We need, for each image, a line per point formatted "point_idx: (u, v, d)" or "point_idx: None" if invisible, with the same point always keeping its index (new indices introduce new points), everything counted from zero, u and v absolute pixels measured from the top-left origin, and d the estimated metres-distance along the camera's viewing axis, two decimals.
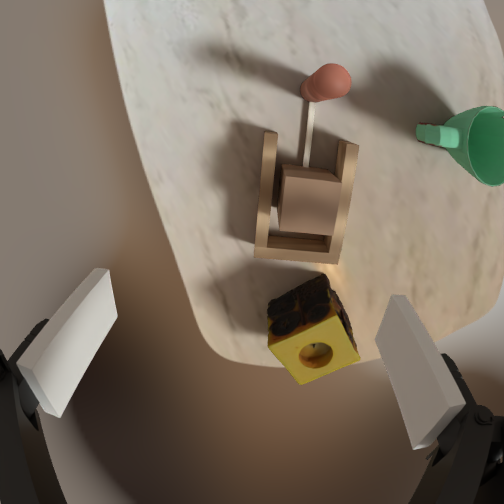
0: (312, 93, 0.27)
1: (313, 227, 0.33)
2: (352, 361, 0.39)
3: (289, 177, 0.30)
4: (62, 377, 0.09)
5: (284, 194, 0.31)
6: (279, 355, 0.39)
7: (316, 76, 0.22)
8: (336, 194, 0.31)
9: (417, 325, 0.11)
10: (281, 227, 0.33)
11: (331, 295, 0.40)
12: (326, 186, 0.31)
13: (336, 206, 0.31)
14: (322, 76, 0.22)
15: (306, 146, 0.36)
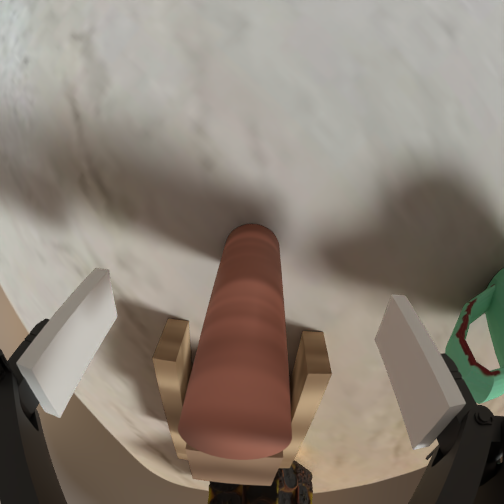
0: None
1: (240, 481, 0.18)
2: None
3: (192, 450, 0.15)
4: (62, 377, 0.09)
5: (189, 459, 0.16)
6: None
7: (180, 428, 0.07)
8: (273, 465, 0.16)
9: (417, 325, 0.11)
10: (194, 477, 0.18)
11: (281, 487, 0.25)
12: (256, 460, 0.16)
13: (273, 471, 0.17)
14: (198, 431, 0.07)
15: None
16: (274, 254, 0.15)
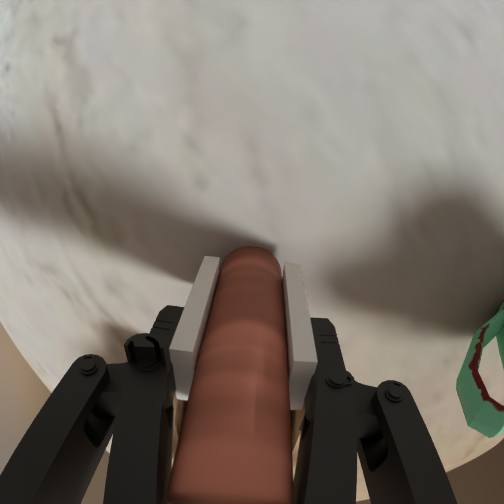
0: None
1: None
2: None
3: None
4: None
5: None
6: None
7: (169, 497, 0.05)
8: None
9: (296, 288, 0.13)
10: None
11: None
12: None
13: None
14: (188, 502, 0.05)
15: None
16: (276, 284, 0.13)
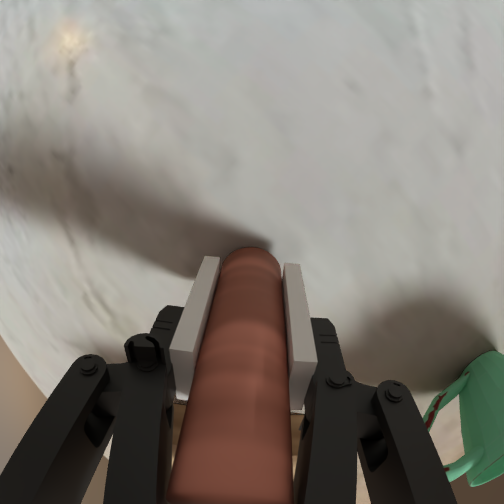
0: None
1: None
2: None
3: None
4: None
5: None
6: None
7: (169, 497, 0.05)
8: None
9: (296, 288, 0.13)
10: None
11: None
12: None
13: None
14: (188, 502, 0.05)
15: None
16: (275, 284, 0.13)
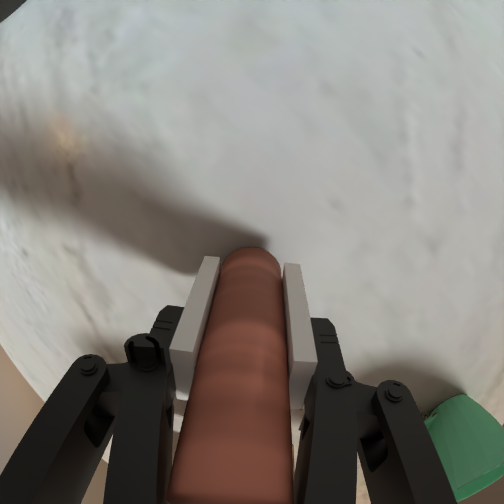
0: None
1: None
2: None
3: None
4: None
5: None
6: None
7: (169, 497, 0.05)
8: None
9: (296, 288, 0.13)
10: None
11: None
12: None
13: None
14: (188, 502, 0.05)
15: None
16: (275, 284, 0.13)
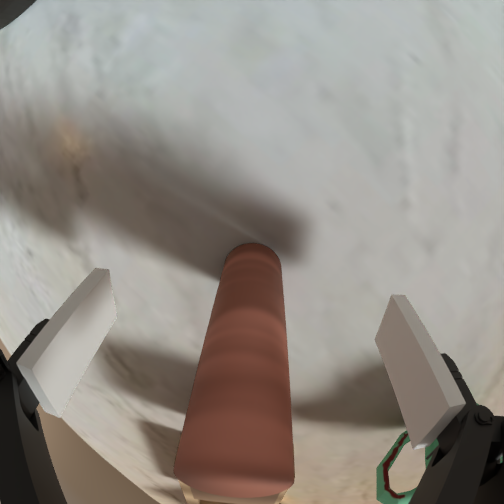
0: None
1: (242, 501, 0.16)
2: None
3: None
4: (62, 377, 0.09)
5: None
6: None
7: (176, 470, 0.06)
8: None
9: (417, 325, 0.11)
10: (195, 497, 0.17)
11: None
12: None
13: (276, 493, 0.15)
14: (195, 474, 0.06)
15: None
16: (276, 277, 0.14)
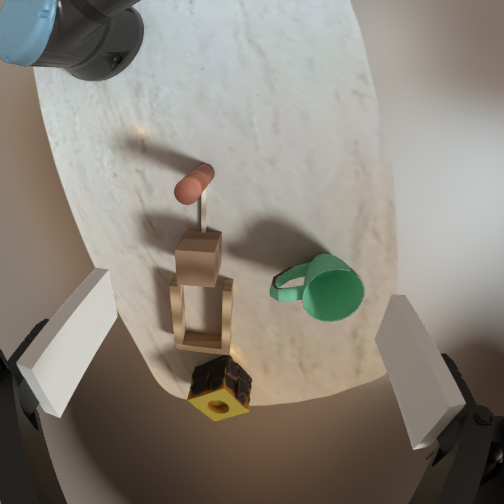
0: None
1: (199, 282, 0.47)
2: (244, 412, 0.59)
3: (177, 250, 0.45)
4: (62, 377, 0.09)
5: (176, 261, 0.45)
6: (195, 404, 0.59)
7: (174, 190, 0.37)
8: (211, 260, 0.45)
9: (417, 325, 0.11)
10: (178, 282, 0.47)
11: (227, 371, 0.60)
12: (203, 255, 0.45)
13: (213, 268, 0.46)
14: (178, 190, 0.36)
15: (202, 217, 0.50)
16: (208, 169, 0.44)
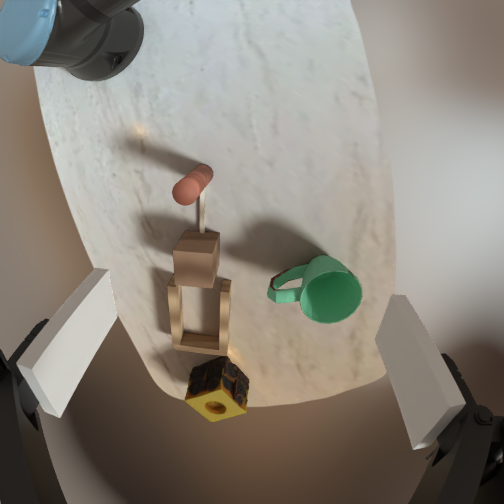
0: None
1: (197, 283, 0.47)
2: (241, 413, 0.59)
3: (175, 251, 0.45)
4: (62, 377, 0.09)
5: (174, 262, 0.45)
6: (192, 405, 0.58)
7: (173, 191, 0.36)
8: (209, 261, 0.45)
9: (417, 325, 0.11)
10: (175, 282, 0.47)
11: (225, 372, 0.60)
12: (201, 256, 0.45)
13: (210, 269, 0.46)
14: (176, 191, 0.36)
15: (200, 218, 0.50)
16: (207, 170, 0.44)
